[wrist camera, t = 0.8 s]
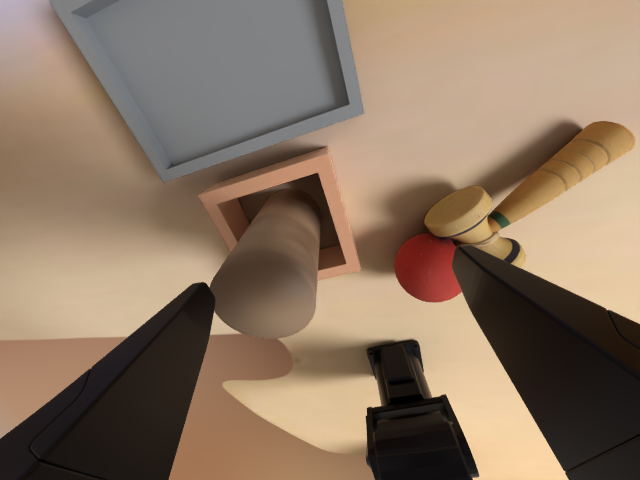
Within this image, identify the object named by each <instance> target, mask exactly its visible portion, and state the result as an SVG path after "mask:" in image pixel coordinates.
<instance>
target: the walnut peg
mask: <svg viewBox="0 0 640 480" xmlns="http://www.w3.org/2000/svg"><path fill="white" fill-rule="evenodd" d="M320 229H321V213H320V210H319V207H318V205H317V204H316V202H315V201H314V200H313V199H312V198H311V197H310V196H309V195H307V194H306V193H304V192H301V191H298V190H294V189H285V190H280V191H278V192H276V193H274V194H272V195H271V196H270V197H269V198H268V199H267V200H266V202H265V203H264V205H263V206H262V208H261V209H260V211H259V212H258V214H257V215H256V216H255V218H254V219H253V221H252V222H251V224H250V225H249V227H248V228H247V230H246V231H245V233H244V234H243V236H242V237H241V238H240V240H239V241H238V243H237V244H236V246H235V247H234V249H233V250H232V252H231V253H230V255H229V256H228V257H227V259H226V260H225V262H224V263H223V265H222V266H221V268H220V269H219V271H218V272H217V274H216V275H215V277H214V278H213V280H212V282H211V285H210V290H211V291H212V293H213V294H214V296H215V300H216V302H215V308H214V311H215V312H216V314H217V315H218V316H219V318H220V319H221V320H222V321H223V322H224V323H226V324H227V325H228V326H230V327H231V328H233V329H234V330H236V331H238V332H240V333H243V334H246V335H249V336H252V337H257V338H263V339H277V338H283V337H287V336H290V335H293V334H295V333H297V332H299V331H301V330H302V329H303V328H305V327H306V326H307V325H308V324H309V322H310V321H311V319H312V318H313V315H314V313H315V307H316V291H317V275H318V260H319V244H320Z"/></svg>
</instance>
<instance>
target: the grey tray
mask: <svg viewBox="0 0 640 480" xmlns="http://www.w3.org/2000/svg"><path fill="white" fill-rule="evenodd" d="M49 2H50V4H51V5H52V7H53V8H54V10H55V12H56V13H57V15H58V16H59V18H60V19H61V21H62V23H63V24H64V26H65V27H66V29H67V30H68V32H69V34H70V35H71V37H72V38H73V40H74V42H75V43H76V45H77V46H78V48H79V49H80V51H81V53H82V54H83V56H84V57H85V59H86V60H87V62H88V64H89V65H90V67H91V68H92V70H93V72H94V73H95V75H96V76H97V78H98V79H99V81H100V83H101V84H102V86H103V87H104V89H105V90H106V92H107V94H108V95H109V97H110V98H111V100H112V102H113V103H114V105H115V106H116V108H117V109H118V111H119V113H120V114H121V116H122V117H123V119H124V121H125V122H126V124H127V125H128V127H129V128H130V130H131V132H132V133H133V135H134V136H135V138H136V139H137V141H138V143H139V144H140V146H141V147H142V149H143V151H144V152H145V154H146V155H147V157H148V158H149V160H150V162H151V163H152V165H153V166H154V168H155V169H156V171H157V173H158V174H159V176H160V177H161V179H162V181H163V182H167V181H170V180H173V179H176V178H179V177H181V176H184V175H187V174H190V173H193V172H196V171H199V170H202V169H205V168H207V167H210V166H213V165H216V164H219V163H222V162H225V161H228V160H231V159H234V158H236V157H239V156H242V155H245V154H248V153H251V152H254V151H257V150H260V149H263V148H265V147H268V146H271V145H274V144H277V143H280V142H283V141H286V140H289V139H291V138H294V137H297V136H300V135H303V134H306V133H309V132H312V131H315V130H318V129H320V128H323V127H326V126H329V125H332V124H335V123H338V122H341V121H344V120H347V119H349V118H352V117H355V116H358V115H361V114H364V109H363V104H362V99H361V94H360V89H359V84H358V79H357V73H356V68H355V63H354V58H353V53H352V48H351V43H350V38H349V33H348V28H347V23H346V18H345V13H344V8H343V3H342V0H49Z"/></svg>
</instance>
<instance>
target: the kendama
mask: <svg viewBox="0 0 640 480" xmlns="http://www.w3.org/2000/svg"><path fill="white" fill-rule="evenodd" d="M634 145H635V137H634V135H633V134H632V132H631V131H630V130H628V129H627V128H626V127H624V126H622V125H620V124H617V123H613V122H607V121H600V122H594V123H592V124H590V125H588V126H587V127H585V128H584V129H583V130H582V131H581V132H580V133H579V134H578V135H577V136H575V137H574V138H573V139H572V140H571V141H570V142H569V143H568V144H567V145H565V146H564V147H563V148H562V149H561V150H560V151H559V152H558V153H557V154H555V155H554V156H553V157H552V158H551V159H549V160H548V161H547V162H546V163H545V164H544V165H542V166H541V167H540V168H539V169H538V170H537V171H536V172H534V173H533V174H532V175H531V176H529V177H528V178H527V179H526V180H525V181H524V182H522V183H521V184H520V185H519V186H518V187H517V188H516V189H515V190H514V191H513V192H511V193H510V194H509V195H508V196H507V197H506V198H505V199H504V200H503V201H502V202H501V203H500V204H499V205H498V206H497V207H496V208H495V209H494V210H493V211H492V212H491V213H490V214H489V215H488V213H489V211H490V209H491V207H492V199H491V198H490V196H489V195H488V194H487V193H486V191H485V190H484V189H483V188H482V187H480V186H471V187H466V188H463V189H460V190H457V191H455V192H453V193H451V194H450V195H448V196H446V197H444V198H443V199H441V200H440V201H439V202H438V203H436V204H435V205H434V206H433V207H432V208H431V209H430V210H429V212H428V213H427V215H426V217H425V220H424V223H425V225H426V226H427V228H428V229H429V230H430V232H431V233H425V234H420V235H417V236H414V237H412V238H410V239H409V240H407V241H406V242H405V243H404V244H403V245H402V246H401V247H400V249H399V251H398V252H397V255H396V257H395V262H394V268H395V274H396V277H397V279H398V281H399V283H400V285H401V286H402V287H403V288H404V290H405V291H406V292H408V293H409V294H410V295H412V296H413V297H415V298H417V299H419V300H422V301H426V302H443V301H446V300H450V299H452V298H454V297H455V296H457V295H458V294H459V293H461V292H462V290H461V288H460V286H459V284H458V281H457V279H456V277H455V274H454V272H453V269H452V261H453V256H454V251H455V248H456V247H457V246H461V245H472V246H474V247H476V248H479V249H481V250H483V251H485V252H487V253H489V254H491V255H493V256H496V257H498V258H500V259H502V260H504V261H506V262H508V263H510V264H513V265H515V266H517V267H519V268H522V266H523V265H524V263H525V260H526V255H525V252H524V250H523V248H522V246H521V245H520V244H519V243H518V242H517V241H515V240H513V239H510V238H502V237H499V233H498V232H497V231H499V230H500V229H502V228H504V227H506V226H508V225H510V224H511V223H513V222H515V221H517V220H519V219H521V218H522V217H524V216H526V215H528V214H529V213H531V212H533V211H535V210H536V209H538V208H540V207H541V206H543V205H545V204H546V203H548V202H549V201H551V200H553V199H554V198H556V197H557V196H559V195H560V194H562V193H563V192H564V191H566V190H568V189H570V188H571V187H573V186H574V185H576V184H577V183H578V182H580V181H582V180H583V179H585V178H586V177H588V176H589V175H591V174H593V173H594V172H596V171H597V170H599V169H601V168H602V167H603V166H605V165H607V164H609V163H610V162H612V161H614V160H615V159H617V158H619V157H620V156H622V155H623V154H625V153H627V152H628V151H630V150H631V149H632V148H633V147H634Z"/></svg>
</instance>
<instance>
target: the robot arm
mask: <svg viewBox="0 0 640 480" xmlns="http://www.w3.org/2000/svg"><path fill="white" fill-rule="evenodd" d="M452 269H453V272H454V274H455V277H456V279H457V281H458V284H459V286H460V288H461V290H462V293H463V295H464V297H465V299H466V302H467V304H468V306H469V308H470V310H471V312H472V314H473V316H474V317H475V319H476V321H477V323H478V324H479V326H480V328H481V329H482V331H483V333H484V335H485V336H486V338H487V340H488V341H489V343H490V345H491V347H492V348H493V350H494V352H495V353H496V355H497V357H498V359H499V360H500V362H501V364H502V365H503V367H504V369H505V371H506V372H507V374H508V376H509V377H510V379H511V381H512V383H513V384H514V386H515V388H516V389H517V391H518V393H519V395H520V396H521V398H522V400H523V401H524V403H525V405H526V407H527V408H528V410H529V412H530V413H531V415H532V417H533V419H534V420H535V422H536V424H537V425H538V427H539V429H540V431H541V432H542V434H543V436H544V437H545V439H546V441H547V443H548V444H549V446H550V448H551V449H552V451H553V453H554V454H555V456H556V458H557V460H558V461H559V463H560V465H561V466H562V468H563V470H564V471H565V474H566V475H567V477H568V479H569V480H640V324H639V323H636V322H634V321H632V320H630V319H628V318H626V317H623V316H621V315H619V314H617V313H615V312H613V311H611V310H606V308H604V307H602V306H600V305H598V304H596V303H594V302H591V301H589V300H587V299H585V298H583V297H581V296H579V295H576V294H574V293H572V292H570V291H568V290H566V289H564V288H562V287H559V286H557V285H555V284H553V283H551V282H549V281H547V280H545V279H542V278H540V277H538V276H536V275H534V274H532V273H530V272H527V271H525V270H523V269H521V268H519V267H517V266H515V265H513V264H510V263H508V262H506V261H504V260H502V259H500V258H498V257H496V256H493V255H491V254H489V253H487V252H485V251H483V250H481V249H479V248H476V247H474V246H472V245H461V246H457V247H456V248H455V251H454V256H453V261H452ZM215 302H216V300H215V296H214V294H213V293H212V291H211V290H210V288H209V287H208V285H207V284H206V283H204V282H200V283H194V284H192V285H191V286H189V287H188V288H187V289H186V290H185V291H183V292H182V293H181V294H180V295H178V296H177V297H176V298H175V299H174V300H172V301H171V302H170V303H169V304H168V305H166V306H165V307H164V308H163V309H162V310H160V311H159V312H158V313H157V314H155V315H154V316H153V317H152V318H151V319H149V320H148V321H147V322H146V323H145V324H143V325H142V326H141V327H140V328H138V329H137V330H136V331H135V332H134V333H132V334H131V335H130V336H129V337H128V338H126V339H125V340H124V341H123V342H121V343H120V344H119V345H118V346H117V347H115V348H114V349H113V350H112V351H111V352H109V353H108V354H107V355H106V356H105V357H103V358H102V359H101V360H100V361H98V362H97V363H96V364H95V365H94V366H93V367H92V368H91V369H89V370H87V372H85V373H84V374H83V375H81V376H80V377H79V378H78V379H77V380H75V381H74V382H73V383H72V384H70V385H69V386H68V387H67V388H66V389H64V390H63V391H62V392H61V393H59V394H58V395H57V396H56V397H54V398H53V399H52V400H50V401H49V402H48V403H46V404H45V405H44V406H43V407H41V408H40V409H39V410H37V411H36V412H35V413H34V414H32V415H31V416H30V417H28V418H27V419H26V420H24V421H23V422H22V423H20V424H19V425H18V426H16V427H15V428H14V429H13V430H11V431H10V432H9V433H7V434H6V435H5V436H3V437H2V438H1V439H0V480H168V479H169V476H170V472H171V469H172V465H173V462H174V458H175V455H176V452H177V448H178V445H179V441H180V438H181V434H182V431H183V427H184V424H185V421H186V417H187V414H188V410H189V407H190V403H191V400H192V396H193V393H194V389H195V386H196V382H197V379H198V376H199V372H200V369H201V365H202V362H203V358H204V354H205V352H206V348H207V344H208V340H209V336H210V330H211V325H212V319H213V314H214V308H215ZM367 355H368V358H369V361H370V364H371V367H372V370H373V373H374V376H375V379H376V380H377V383H378V389H379V394H380V400H381V405H382V406H380V407H374V408H372V407H368V408H367V416H366V424H367V451H366V461H367V465H368V466H369V467H370V468H371V469H372V472H373V474H374V478H375V480H473V479H472V478H474V477H479V473H478V470H477V467H476V464H475V461H474V458H473V456H472V453H471V451H470V448H469V446H468V443H467V441H466V438H465V436H464V434H463V431H462V429H461V427H460V425H459V422H458V420H457V418H456V416H455V414H454V411H453V409H452V407H451V405H450V403H449V400H448V398H447V396H446V394H445V395H441V396H439V397H433V398H432V395H431V393H430V390H429V387H428V384H427V382H426V379H425V376H424V370H423V364H422V358H421V352H420V346H419V343H418V341H409V342H403V343H397V344H391V345H386V346H380V347H374V348H369V349H367Z"/></svg>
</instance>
